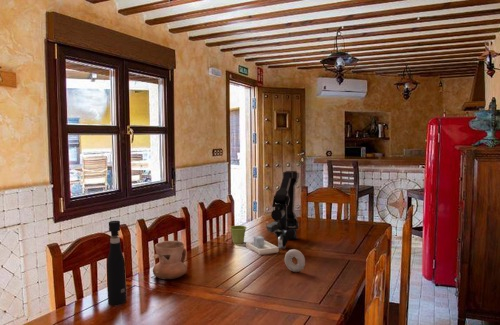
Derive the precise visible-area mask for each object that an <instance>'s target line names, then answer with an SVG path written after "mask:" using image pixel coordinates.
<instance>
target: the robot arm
mask: <svg viewBox="0 0 500 325" xmlns="http://www.w3.org/2000/svg"><path fill="white" fill-rule="evenodd" d="M299 179H300V173H299V172H298V171H297V170H286V171H283V173H282V179H281V184H280V187H279V189H278V190H276V192H275V194H274V195H273V200H272V208H274V209H273V210H272V211H271V213H270V214H271V219H272V220H273V221H272V222H270V223H268V224H266V226H265V227H266V230H267V232H269V233H273V234H274V235H275V237H276V239H277V241H278V236H281V237H282V244H283V247H285V245H287V243H288V241H291V240H298V239H299V238H298V237H297V230H298V229H299V227H300V225H299V221H298V218H297V214H296V213H295V196H296V195H295V194H296V192H295V191H296V190H295V189H296V185H297V184H298V182H299Z"/></svg>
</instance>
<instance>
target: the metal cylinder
mask: <svg viewBox="0 0 500 325" xmlns="http://www.w3.org/2000/svg"><path fill="white" fill-rule="evenodd" d="M286 245H287V244H286ZM286 245H285V247H283V244H282V237H281V236H278V240H277V247H279V250H284V249H286V248H287V246H286Z"/></svg>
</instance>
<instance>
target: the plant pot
mask: <svg viewBox="0 0 500 325" xmlns="http://www.w3.org/2000/svg"><path fill="white" fill-rule="evenodd" d="M229 229H230V231H231V238H232V243H233V244H235V245H237V244H238V245H239V244H244V243H245V242H244V241H245V236H246V235H245V234H246V230H247V226H245V225H232V226H230V227H229Z"/></svg>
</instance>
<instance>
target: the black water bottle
mask: <svg viewBox="0 0 500 325" xmlns="http://www.w3.org/2000/svg"><path fill="white" fill-rule="evenodd" d="M108 231H109V232H110V238H109V240H110V241H109V252H108V255H107V261H106V278H107V279H106V284H107V302H108V305H109V306H114V307H115V306H121V305H125V303H126V302H127V283H126V282H127V277H126V262H125V256H124V254H123V251H122V246H121V244H122V243H121V240H120V237H119V232H120V231H121V221H120V220H111V221H109V222H108Z"/></svg>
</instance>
